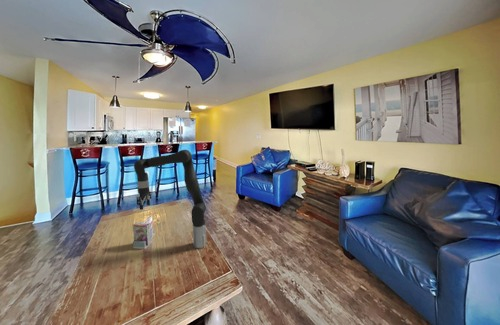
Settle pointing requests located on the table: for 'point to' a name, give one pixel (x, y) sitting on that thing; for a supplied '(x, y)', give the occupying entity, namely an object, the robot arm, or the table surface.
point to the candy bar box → (142, 232)
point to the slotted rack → (140, 244)
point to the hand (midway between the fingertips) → (145, 207)
